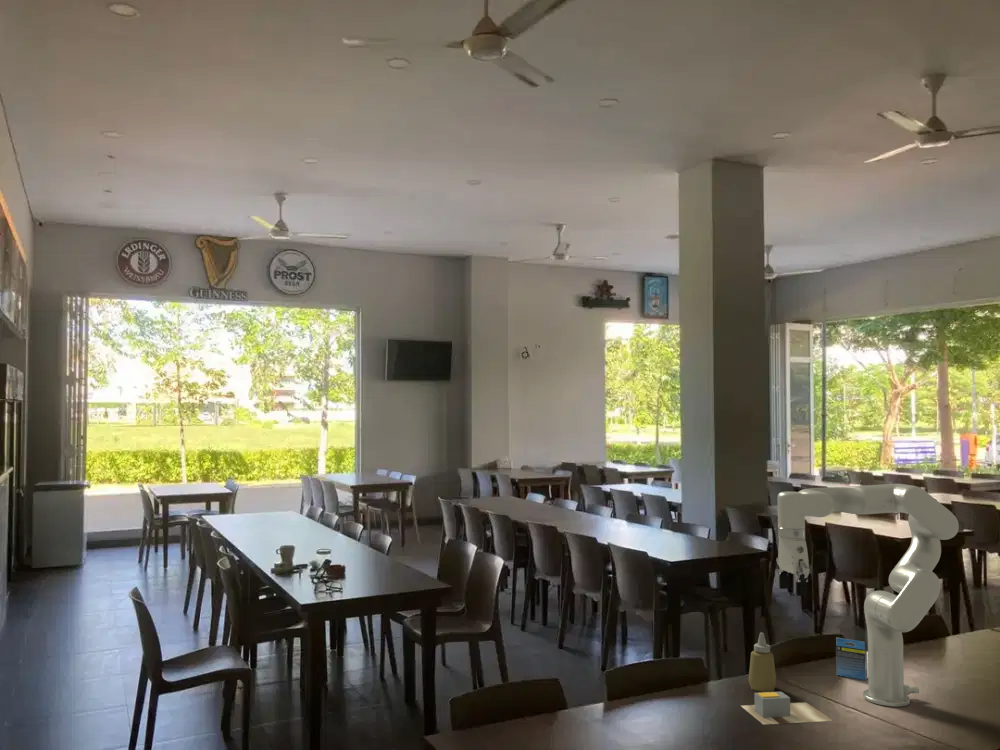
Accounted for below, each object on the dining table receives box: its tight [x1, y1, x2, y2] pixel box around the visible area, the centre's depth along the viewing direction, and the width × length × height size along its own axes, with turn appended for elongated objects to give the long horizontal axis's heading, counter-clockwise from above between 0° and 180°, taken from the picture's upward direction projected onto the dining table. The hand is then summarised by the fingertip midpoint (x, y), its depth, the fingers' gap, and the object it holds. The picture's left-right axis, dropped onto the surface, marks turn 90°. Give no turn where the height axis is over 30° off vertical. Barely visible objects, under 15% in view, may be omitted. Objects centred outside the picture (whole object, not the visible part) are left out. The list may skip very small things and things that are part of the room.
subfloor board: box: [740, 702, 833, 726], centre depth 224 cm, size 20×14×2 cm
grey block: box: [753, 691, 791, 718], centre depth 223 cm, size 8×5×5 cm, turn 98°
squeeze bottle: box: [748, 632, 777, 693], centre depth 244 cm, size 8×8×18 cm
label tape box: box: [835, 637, 868, 681], centre depth 260 cm, size 9×4×12 cm, turn 57°
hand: (793, 592), depth 238 cm, fingers open, 9 cm apart
